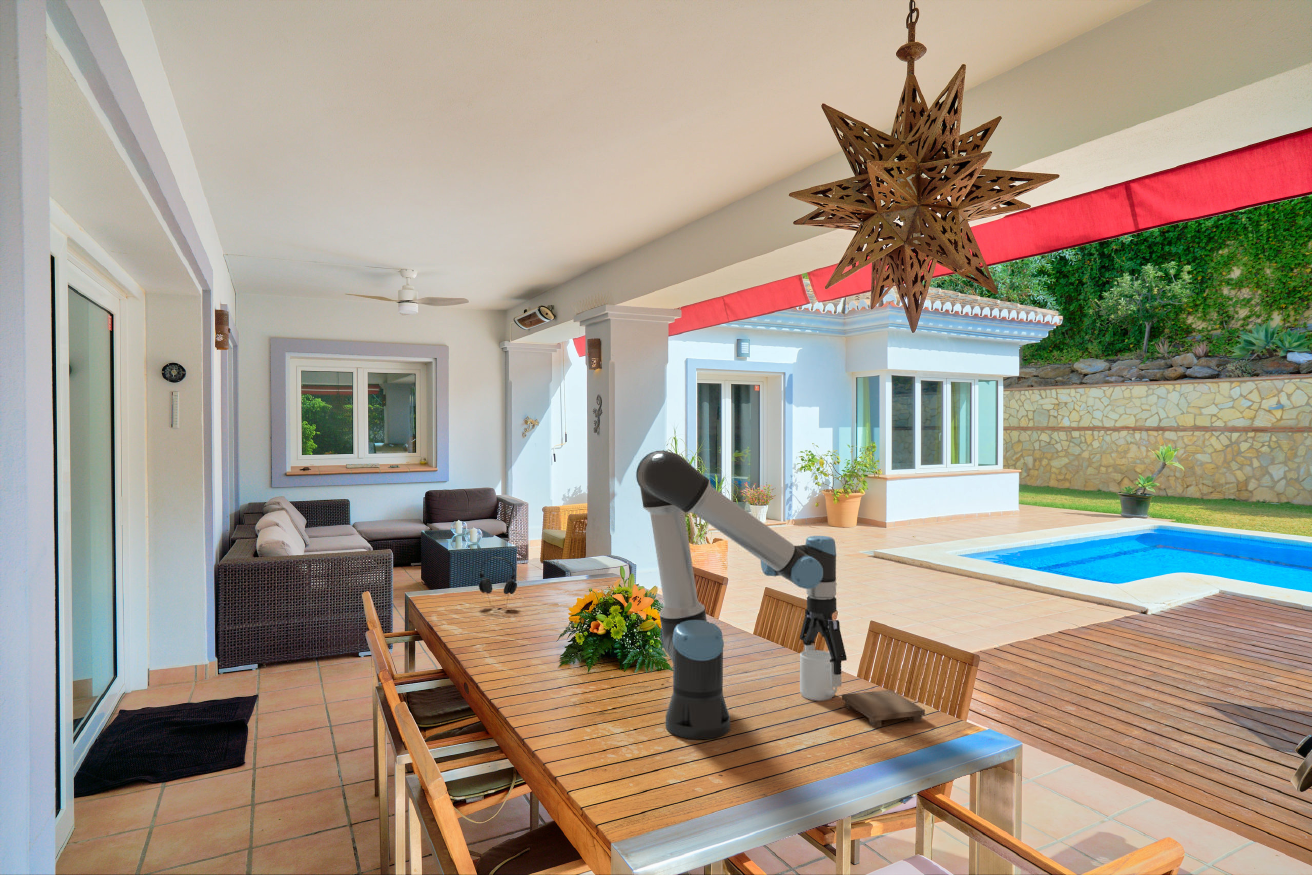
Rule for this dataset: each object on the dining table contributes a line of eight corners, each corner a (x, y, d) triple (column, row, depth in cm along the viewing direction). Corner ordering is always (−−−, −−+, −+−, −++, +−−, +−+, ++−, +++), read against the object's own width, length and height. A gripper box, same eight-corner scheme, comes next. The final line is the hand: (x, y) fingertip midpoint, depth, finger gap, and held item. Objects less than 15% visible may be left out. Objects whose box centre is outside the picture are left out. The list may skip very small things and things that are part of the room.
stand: (873, 728, 166) (873, 715, 166) (841, 706, 180) (841, 694, 180) (924, 722, 170) (924, 709, 170) (890, 700, 183) (890, 689, 183)
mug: (823, 708, 178) (823, 665, 178) (793, 692, 189) (793, 652, 189) (849, 702, 182) (849, 660, 182) (818, 687, 193) (818, 647, 193)
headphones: (471, 612, 272) (471, 560, 272) (482, 605, 284) (483, 555, 283) (508, 614, 270) (508, 561, 270) (519, 606, 281) (519, 556, 281)
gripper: (860, 606, 175) (861, 692, 175) (811, 585, 199) (812, 661, 199) (832, 608, 173) (833, 695, 173) (787, 587, 197) (787, 663, 197)
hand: (822, 677), depth 186 cm, fingers open, 13 cm apart
